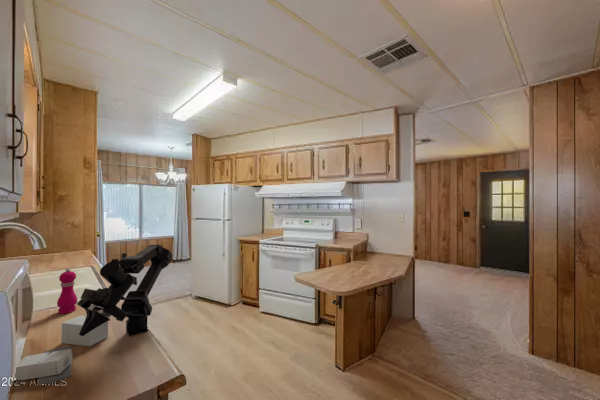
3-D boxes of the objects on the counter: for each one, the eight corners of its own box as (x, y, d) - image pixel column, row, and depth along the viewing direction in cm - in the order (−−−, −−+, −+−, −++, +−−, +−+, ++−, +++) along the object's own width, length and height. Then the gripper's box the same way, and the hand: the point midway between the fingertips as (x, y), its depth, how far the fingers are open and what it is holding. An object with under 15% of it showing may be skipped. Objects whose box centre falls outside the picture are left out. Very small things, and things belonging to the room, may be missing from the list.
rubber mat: (70, 346, 95) (70, 344, 95) (71, 376, 78) (71, 374, 78) (43, 353, 90) (43, 351, 90) (37, 387, 74) (37, 385, 74)
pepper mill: (61, 309, 128) (62, 267, 129) (80, 307, 131) (80, 266, 131) (53, 315, 122) (54, 270, 122) (72, 313, 124) (73, 269, 124)
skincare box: (59, 359, 78) (8, 367, 75) (60, 375, 78) (10, 383, 75) (72, 347, 84) (26, 354, 81) (73, 361, 84) (27, 369, 81)
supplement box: (60, 343, 97) (89, 347, 94) (61, 322, 97) (89, 325, 94) (81, 334, 104) (108, 337, 101) (81, 314, 104) (108, 317, 102)
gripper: (84, 274, 94) (42, 318, 84) (117, 281, 86) (75, 330, 76) (107, 290, 101) (72, 333, 91) (140, 298, 93) (105, 345, 83)
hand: (80, 335), depth 85 cm, fingers closed
